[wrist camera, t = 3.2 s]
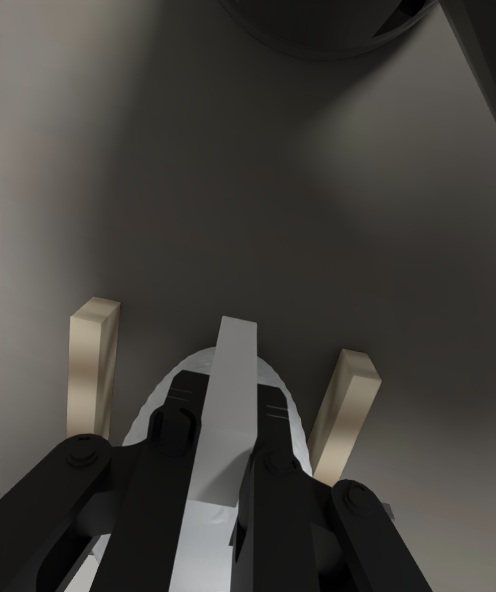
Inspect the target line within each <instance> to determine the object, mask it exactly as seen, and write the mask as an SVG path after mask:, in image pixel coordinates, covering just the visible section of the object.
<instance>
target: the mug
mask: <svg viewBox="0 0 496 592" xmlns="http://www.w3.org/2000/svg"><path fill="white" fill-rule="evenodd" d="M215 349H216V347H211V348H207V349H204V350H200V351H198V352H196V353H195V354H193V355H190V356H188V357H187V358H186V359H185V360H183V361H181V362H180V363H179V364H178V365H177V366H176V367H174V368H173V369H172V371H171V372H170V373H169V374H167V375H166V376H165V377H164V379H163V380H162V381H161V382H160V383H159V384H158V385H157V386H156V388H155V390H154V391H153V392H152V394H150V396H149V397H148V399H147V401H146V403H145V404H144V405H143V406H142V407H141V410H140V413H139V415H138V417H137V418H136V419H135V420H134V422H133V423H132V427H131V429H130V431H129V433H128V434H127V436H126V437H125V440H124V442H123V445H122V446H128V445H133V444H136V443H139V442H141V441H143V440H144V439H146V438H147V432H148V425H149V418H150V415H151V414H152V412H153V411H154V410H155V409H157V408H158V407H160V406H162V405H163V404H164V401H165V399H166V396H167V393H168V390H169V388H170V385H171V382H172V380H173V377H174V376H175V375H176V374H178V373H179V372H180V371H181V370H182V369H183V370H188V371H193V372H198V373H203V374H208V375H210V372H211V368H212V363H213V358H214V354H215ZM257 383H259V384H264V385H269V386H274V387H279V388H280V389H281V390H282V392H283V393H284V395H285V396H286V398H287V405H288V413H289V421H290V429H291V437H292V445H293V453H294V455H295V456H296V458H297V459H298V460H299V461H300V463H301V466H302V469H303V471H305V472H306V473H307V474H308V475H309V476H311V477H313V476H312V468H311V466H310V462H309V453H308V448H307V445H306V441H305V435H304V431H303V428H302V425H301V418H300V416H299V415H298V412H297V409H296V405H295V403H294V402H293V400H292V397H291V394H290V392H289V391H288V390H287V388H286V386H285V383H284V382H283V381H282V380H281V379H280V377H279V375H278V374H277V373H276V372H275V371H274V370H273V368H272V367H271V366H270V365H268V364H267V363H266V362H265V361H264V360H263V359H261V358H259V357H258V356H257ZM238 504H239V499H238V502H237V505H236V508H233V507H227V506H222V505H216V504H210V503H205V502H199V501H193V500H187V501H186V506H185V511H184V516H183V521H182V526H181V532H180V537H179V542H178V547H177V552H176V557H175V562H174V567H173V572H172V577H171V582H170V587H169V592H230V583H231V567H232V551H233V546H228V545H229V542H230V538H231V535H232V531H233V528H234V525H235V521H236V518H237V515H238ZM110 535H111V534H106V535H101V537H100V539H99V540H98V542H97V543H96V545H95V546H94V548H93V549H92V551H93V553H94V555H95V558H96V560H97V561H98V563H99V564H100V561H101V559H102V556H103V554H104V551H105V548H106V546H107V543H108V540H109V538H110Z"/></svg>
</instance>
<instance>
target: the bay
mask: <svg viewBox="0 0 496 592" xmlns="http://www.w3.org/2000/svg"><path fill="white" fill-rule="evenodd" d="M120 306H121V302H118V301H113V300H108V299H104V298H99V297H92V298H91V299H90V300H89V301H88V302H87V303H86V304H84V305H83V306H82V307H81V308H80V309H79V310H78V311H77V312H75V313H74V314H73V315H72V316H71V317H70V342H69V373H68V404H67V435H66V439H67V438H69V437H72V436H75V435H78V434H87V433H91V434H96V435H100V436H102V437H103V438H105V439H106V440H108V437H109V426H110V415H111V404H112V393H113V383H114V372H115V361H116V350H117V339H118V328H119V317H120ZM381 382H382V380H381V378H380V377H379V375H378V373H377V371H376V369H375V367H374V365H373V363H372V362H371V360H370V358H369V356H368V354H366V353H361V352H357V351H352V350H347V349H342V350H341V353H340V356H339V359H338V361H337V364H336V367H335V369H334V372H333V375H332V377H331V380H330V383H329V385H328V388H327V391H326V394H325V396H324V399H323V402H322V404H321V407H320V410H319V412H318V415H317V418H316V420H315V423H314V426H313V429H312V431H311V434H310V437H309V439H308V442H307V448H308V453H309V462H310V466H311V468H312V476H313V478H314V479H316V480H318V481H320V482H322V483H325V484H327V485H329V486H331V487H333V486H334V484H335V483H336V482H337V481H338V480H339V478H340V475H341V473H342V471H343V469H344V466H345V464H346V462H347V460H348V457H349V455H350V453H351V450H352V448H353V446H354V444H355V441H356V439H357V437H358V434H359V432H360V430H361V428H362V425H363V423H364V421H365V418H366V416H367V414H368V412H369V409H370V407H371V405H372V403H373V400H374V398H375V396H376V393H377V391H378V389H379V387H380V384H381ZM89 555H94V553H93V551H91V552H90V554H89ZM94 556H95V555H94Z"/></svg>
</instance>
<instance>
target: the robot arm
mask: <svg viewBox="0 0 496 592" xmlns="http://www.w3.org/2000/svg"><path fill="white" fill-rule="evenodd" d="M219 1H220V3H221V4H222V5H223V7H224V8H225V9H226V11H227V12H228V13H229V14H230V15H231V16H232V18H233V19H234V20H235V21H236V22H237V23H238V24H239V25H240V26H241V27H242V28H243V29H245V30H246V31H247V32H248V33H249V34H250V35H252V36H253V37H254V38H256V39H257V40H259V41H260V42H262V43H263V44H265V45H267V46H269V47H271V48H273V49H275V50H277V51H279V52H282V53H284V54H287V55H290V56H293V57H297V58H302V59H308V60H320V61H328V60H339V59H346V58H350V57H354V56H358V55H361V54H364V53H367V52H369V51H372V50H374V49H377V48H379V47H381V46H383V45H385V44H386V43H388V42H390V41H391V40H393V39H395V38H396V37H398V36H399V35H401V34H402V33H403V32H405V31H406V30H407V29H409V28H410V27H411V26H412V25H414V24H415V23H416V22H417V21H419V20H420V19H421V18H422V17H423V16H425V15H426V14H427V13H428V12H429V11H431V10H432V9H433V8H434V7H435V6H436V5H437V4H438V3H440V5H441V7H442V9H443V11H444V13H445V16H446V18H447V20H448V22H449V24H450V26H451V28H452V30H453V33H454V35H455V37H456V39H457V41H458V43H459V45H460V47H461V50H462V52H463V54H464V56H465V58H466V60H467V62H468V64H469V67H470V69H471V71H472V73H473V75H474V77H475V79H476V81H477V83H478V86H479V88H480V90H481V92H482V94H483V96H484V98H485V100H486V103H487V105H488V107H489V109H490V111H491V113H492V115H493V117H494V120H495V122H496V0H219ZM238 499H239V504H238V515H237V518H236V521H235V525H234V528H233V531H232V535H231V538H230V542H229V545H228V546H233V551H232V567H231V583H230V592H433V591H432V590H431V588H430V586H429V584H428V583H427V581H426V579H425V577H424V576H423V574H422V572H421V571H420V569H419V567H418V565H417V564H416V562H415V560H414V559H413V557H412V555H411V553H410V552H409V550H408V548H407V547H406V545H405V543H404V541H403V540H402V538H401V536H400V535H399V533H398V531H397V529H396V528H395V526H394V524H393V523H392V521H391V519H390V517H389V516H388V514H387V512H386V511H385V509H384V507H383V505H382V504H381V502H380V501H379V499H378V498H377V497H376V495H375V494H374V493H373V492H372V491H371V490H370V489H368V488H367V487H366V486H365V485H363V484H361V483H359V482H357V481H354V480H347V479H344V480H340V481H337V482H336V483H335V484H334V486H333V487H331V486H329V485H327V484H325V483H322V482H320V481H318V480H316V479H314V478H313V477H311V476H309V475H308V474H307V473H306V472H305V471H303V469H302V466H301V463H300V461H299V460H298V459H297V458H296V456H295V455H294V453H293V445H292V437H291V429H290V421H289V413H288V405H287V398H286V396H285V395H284V393H283V392H282V390H281V389H280V388H279V387H274V386H269V385H264V384H259V383H257V323H255V322H251V321H246V320H241V319H236V318H231V317H227V316H222V321H221V326H220V330H219V335H218V340H217V344H216V349H215V354H214V358H213V363H212V368H211V372H210V375H208V374H203V373H198V372H193V371H188V370H183V369H182V370H181V371H180V372H179V373H178V374H176V375H175V376H174V377H173V380H172V382H171V385H170V388H169V390H168V393H167V396H166V399H165V401H164V404H163V405H162V406H160V407H158V408H157V409H155V410H154V411H153V412H152V414H151V415H150V418H149V425H148V432H147V438H146V439H144V440H143V441H141V442H139V443H136V444H133V445H128V446H119V447H111V445H110V444H109V442H108V440H106V439H105V438H103V437H102V436H100V435H96V434H91V433H87V434H78V435H75V436H72V437H69V438H67V439H66V440H64V441H63V442H61V443H60V444H58V445H57V446H56V447H55V448H54V449H53V450H52V451H51V452H50V453H49V454H48V455H47V456H46V457H45V458H44V459H42V460H41V461H40V462H39V463H38V464H37V465H36V466H35V467H34V468H33V469H32V470H31V471H30V472H29V473H28V474H27V475H25V476H24V477H23V478H22V479H21V480H20V481H19V482H18V483H17V484H16V485H15V486H14V487H13V488H12V489H11V490H10V491H8V492H7V493H6V494H5V495H4V496H3V497H2V498H1V499H0V592H64V591H65V589H66V588H67V586H68V585H69V583H70V582H71V580H72V579H73V577H74V576H75V574H76V573H77V571H78V570H79V568H80V567H81V565H82V564H83V562H84V561H85V559H86V558H87V557H88V555H89V554H90V552H91V551H92V549H93V548H94V546H95V545H96V543H97V542H98V540H99V539H100V537H101V535H106V534H111V535H110V538H109V540H108V543H107V546H106V548H105V551H104V554H103V556H102V559H101V561H100V564H99V567H98V569H97V572H96V575H95V577H94V580H93V583H92V585H91V588H90V591H89V592H169V587H170V582H171V577H172V572H173V567H174V562H175V557H176V552H177V547H178V542H179V537H180V532H181V526H182V521H183V516H184V511H185V506H186V501H187V500H193V501H199V502H205V503H210V504H216V505H222V506H227V507H233V508H236V505H237V502H238Z"/></svg>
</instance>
